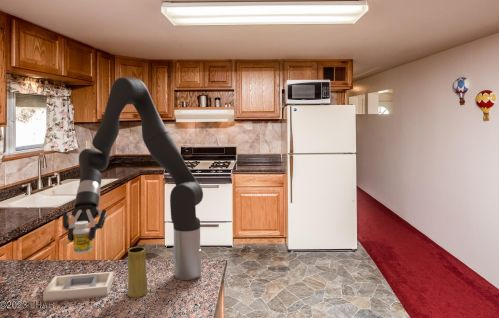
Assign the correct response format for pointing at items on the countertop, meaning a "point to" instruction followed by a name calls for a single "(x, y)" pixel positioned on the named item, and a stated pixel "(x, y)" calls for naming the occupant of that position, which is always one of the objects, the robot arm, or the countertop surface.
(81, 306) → the countertop surface
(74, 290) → the walled box
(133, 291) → the vase
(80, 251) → the supplement bottle
